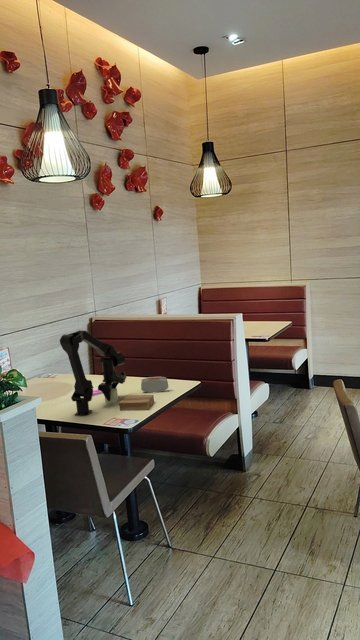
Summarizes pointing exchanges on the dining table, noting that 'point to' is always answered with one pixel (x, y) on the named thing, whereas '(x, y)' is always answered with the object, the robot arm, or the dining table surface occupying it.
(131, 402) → the walnut block
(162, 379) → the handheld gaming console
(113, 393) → the sage cube
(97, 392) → the bracket
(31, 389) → the dining table surface
